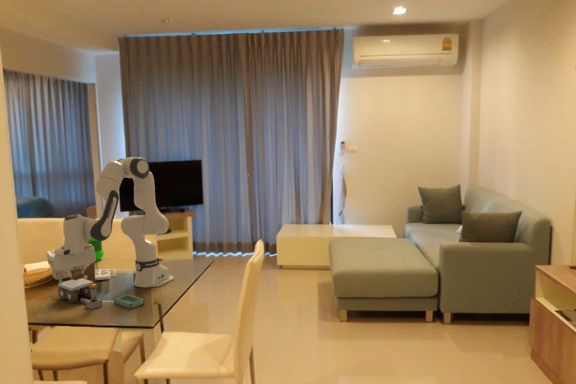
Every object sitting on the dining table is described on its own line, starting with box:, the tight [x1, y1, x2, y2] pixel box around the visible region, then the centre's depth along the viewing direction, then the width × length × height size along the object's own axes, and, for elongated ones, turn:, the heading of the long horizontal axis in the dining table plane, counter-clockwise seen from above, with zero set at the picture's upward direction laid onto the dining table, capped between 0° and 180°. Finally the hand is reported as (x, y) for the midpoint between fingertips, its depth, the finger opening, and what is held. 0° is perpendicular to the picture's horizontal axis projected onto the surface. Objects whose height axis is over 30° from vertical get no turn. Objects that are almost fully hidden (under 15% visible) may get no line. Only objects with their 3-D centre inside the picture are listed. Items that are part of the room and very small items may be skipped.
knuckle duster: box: [83, 268, 117, 282], centre depth 281 cm, size 3×18×15 cm
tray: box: [114, 293, 145, 310], centre depth 239 cm, size 8×13×2 cm, turn 55°
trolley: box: [57, 266, 103, 310], centre depth 242 cm, size 12×27×21 cm, turn 55°
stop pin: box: [89, 283, 98, 302], centre depth 236 cm, size 3×3×11 cm
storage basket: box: [45, 244, 89, 281], centre depth 286 cm, size 24×16×15 cm
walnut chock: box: [69, 268, 83, 280], centre depth 234 cm, size 4×4×4 cm
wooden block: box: [73, 262, 96, 284], centre depth 262 cm, size 4×11×18 cm, turn 119°
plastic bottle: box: [86, 238, 105, 262], centre depth 314 cm, size 10×10×25 cm
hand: (76, 275), depth 234 cm, fingers closed on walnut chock, 4 cm apart
